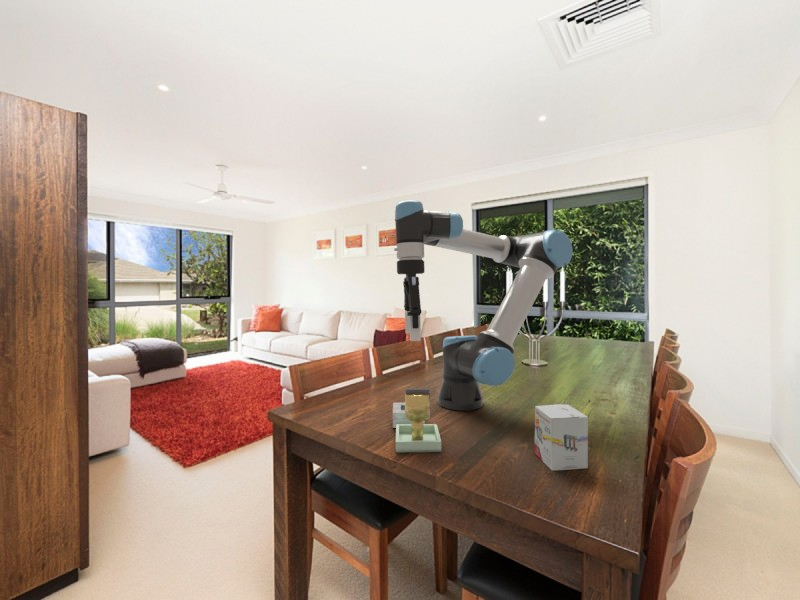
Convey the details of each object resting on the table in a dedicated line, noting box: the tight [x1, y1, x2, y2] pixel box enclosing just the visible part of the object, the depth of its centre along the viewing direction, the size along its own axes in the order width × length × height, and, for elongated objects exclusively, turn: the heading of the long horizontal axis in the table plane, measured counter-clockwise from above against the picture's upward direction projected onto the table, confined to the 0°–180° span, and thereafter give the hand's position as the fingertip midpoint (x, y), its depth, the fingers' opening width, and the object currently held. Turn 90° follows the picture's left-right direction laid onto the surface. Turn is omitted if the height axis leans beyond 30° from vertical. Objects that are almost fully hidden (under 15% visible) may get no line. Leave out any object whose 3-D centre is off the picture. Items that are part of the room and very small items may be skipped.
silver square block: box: [392, 402, 426, 429], centre depth 105 cm, size 9×9×4 cm
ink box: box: [534, 403, 589, 472], centre depth 82 cm, size 9×9×12 cm
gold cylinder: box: [404, 387, 431, 440], centre depth 92 cm, size 6×6×13 cm
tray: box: [395, 423, 442, 453], centre depth 92 cm, size 11×11×2 cm
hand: (412, 336), depth 99 cm, fingers open, 13 cm apart
